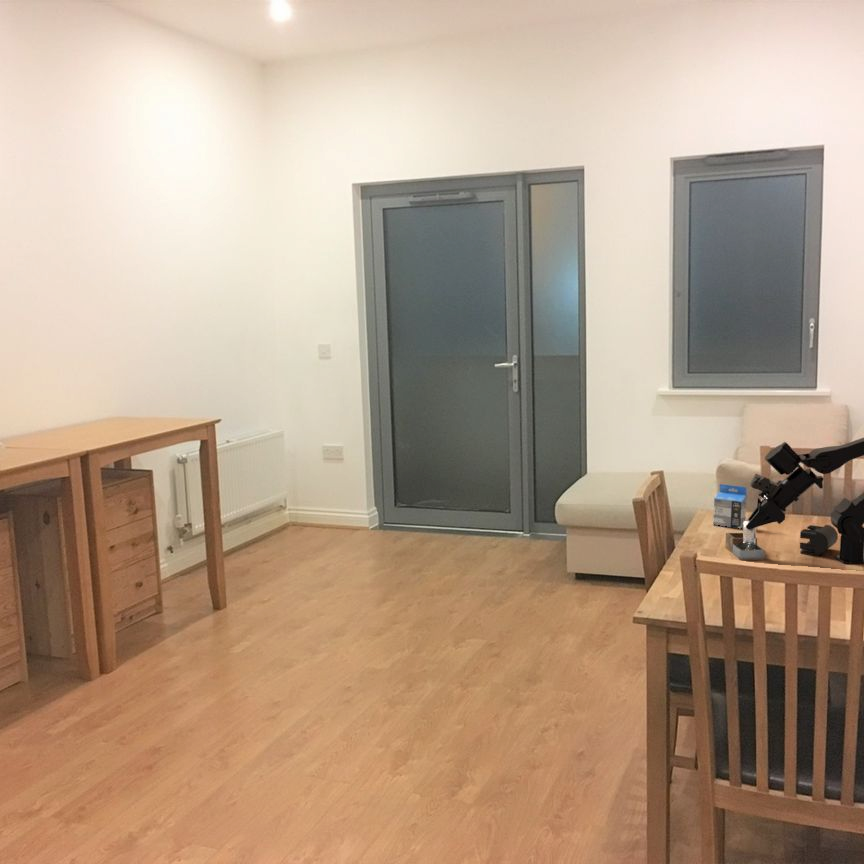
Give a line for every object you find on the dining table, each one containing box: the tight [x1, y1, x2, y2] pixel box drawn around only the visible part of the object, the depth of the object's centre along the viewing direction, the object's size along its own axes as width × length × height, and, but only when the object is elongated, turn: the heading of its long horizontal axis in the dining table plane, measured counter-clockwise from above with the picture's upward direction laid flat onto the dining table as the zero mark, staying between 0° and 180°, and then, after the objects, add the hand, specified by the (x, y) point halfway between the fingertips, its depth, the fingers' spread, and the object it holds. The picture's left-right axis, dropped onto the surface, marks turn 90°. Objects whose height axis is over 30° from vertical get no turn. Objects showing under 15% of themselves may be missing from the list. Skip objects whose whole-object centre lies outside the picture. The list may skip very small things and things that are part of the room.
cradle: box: [732, 543, 766, 561], centre depth 242 cm, size 6×6×2 cm
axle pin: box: [742, 519, 757, 550], centre depth 242 cm, size 3×3×8 cm
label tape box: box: [712, 483, 748, 530], centre depth 276 cm, size 9×4×12 cm, turn 48°
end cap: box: [799, 524, 839, 557], centre depth 246 cm, size 10×7×7 cm
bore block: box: [725, 532, 758, 554], centre depth 249 cm, size 6×6×4 cm
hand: (746, 526), depth 242 cm, fingers closed on axle pin, 3 cm apart
